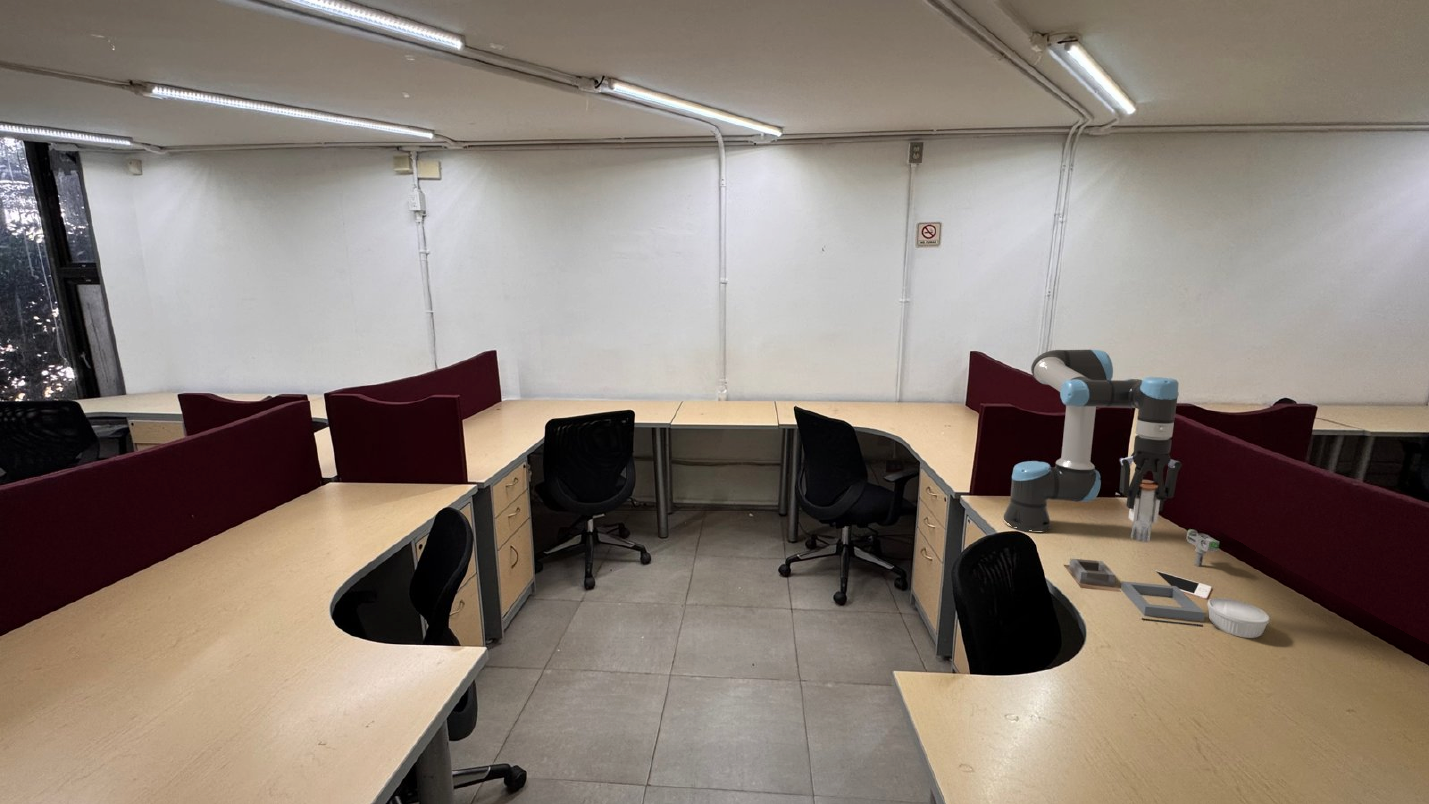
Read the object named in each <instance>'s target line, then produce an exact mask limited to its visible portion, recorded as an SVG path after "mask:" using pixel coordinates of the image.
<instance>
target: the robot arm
mask: <svg viewBox="0 0 1429 804" xmlns="http://www.w3.org/2000/svg"><path fill="white" fill-rule="evenodd" d="M1030 368H1031V369H1030V370H1031V375H1032V376H1033V379H1035V380H1036V381H1037V382H1039V383H1040V384H1042V385H1047V386H1050V387H1052V388H1053V389H1055V390H1056V391H1058V392H1059V393H1060V394H1059V395H1060V396H1059V397H1060V399H1061V402H1062V403H1063V405H1065V418H1064V426H1063V438H1062V447H1061V457H1060V458H1059V459H1057V460H1056V461H1055V465H1054V467H1051V465H1050V464H1049V463H1048V462H1045V461H1038V460H1031V461H1030V460H1027V461H1022V462H1019V463H1017V464H1015V465H1014V467H1013V469H1012V475H1011V487H1010V501H1009V503H1008V506H1007V507H1006V509H1005V512H1004V513H1003V518H1004V520H1005V521H1006V522H1007V523H1009V524H1010V525H1011V526H1012V527H1017V528H1013V529H1015V530H1017V531H1021V532H1026V533H1027V531H1029V530H1032V531H1046V530H1048V529H1049V528H1050V529H1051V519H1050V515H1049V512H1048V508H1047V506H1048V505H1047V504H1048V500H1053V501H1065V502H1066V501H1067V502H1069V501H1070V502H1077V503H1081V502H1087V503H1088V502H1091V501H1093V500H1094V499H1096V497H1097V496H1098V494H1099V492H1100V489H1101V485H1102V484H1101V482H1102V480H1101V474H1100V472H1099V471H1098V470H1097V469H1096V468H1095V467H1096V466H1095V465H1094V464H1093V463H1092V462H1091V457H1092V456H1091V455H1092V447H1093V446H1092V445H1093V438H1094V429H1095V418H1096V409H1097V408H1132V409H1137V419H1136V425H1135V426H1136V427H1135V434H1136V436H1134V441H1133V451H1132V453H1131V455H1130V456H1128V457H1127V456H1126V457H1125V458H1124V457H1119V459H1118V461H1119V463H1120V467H1121V468H1120V480H1119V492H1120V493H1122V494H1123V496H1127V497H1126V505H1125V506H1126V508H1128V509H1129V511H1128V519H1129V520H1130V521H1131V522H1132V523H1133V522H1137V514H1138V506H1139V498H1137V497H1136V496H1137V493H1138V490H1139V488H1140V483H1142V480H1144V478H1145V476H1146V474H1147V472H1151V474H1152V478H1153V480H1152V481H1154V482H1155V483H1157V484H1159V488H1158V489H1156V494H1155V502H1154V510H1153V517H1152V524H1158V518H1159V512H1163V508H1164V503H1165V502H1166V501H1167V499H1172V498H1174V495H1175V490H1176V485H1177V480H1178V476H1179V475H1178V474H1179V471H1180V469H1181V468H1182V466H1183V463H1182V462H1180V461H1179V460H1176V459H1172V458H1171V456H1170V453H1171V448H1172V439H1171V438H1172V437H1173V433H1174V426H1175V425H1174V423H1175V417H1176V410H1177V405H1178V397H1179V393H1180V392H1179V386H1180V385H1179V381H1178V380H1176V379H1175V378H1171V377H1170V378H1168V377H1156V376H1154V377H1153V376H1150V377H1149V376H1148V377H1144V378H1143V379H1139V378H1127V379H1124V380H1123V379H1121V380H1120V379H1119V380H1115V379H1114V380H1113V377H1114V376H1113V375H1114V367H1113V363H1112V359H1111V357H1110V355H1109V354H1108V353H1107V352H1106V351H1104V350H1100V349H1099V350H1098V349H1052V350H1049V351H1046V352H1043V353H1041V354H1040V355H1038V356H1037V357H1036V358H1035V359H1034V360H1033V362H1032V364H1031V367H1030ZM1132 463H1134V464H1135V467H1134V473H1133V476H1132V479H1131V466H1132ZM1166 466H1168V468H1167V472H1166V476H1165V482H1164V468H1165V467H1166ZM1130 480H1131V481H1130ZM1012 527H1011V528H1012ZM1048 531H1049V530H1048ZM1046 532H1047V531H1046Z"/></svg>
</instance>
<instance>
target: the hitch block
mask: <svg viewBox="0 0 1429 804" xmlns="http://www.w3.org/2000/svg"><path fill="white" fill-rule="evenodd" d="M1063 567H1064V568H1065V570H1066V571H1067V572H1068V573H1069V575H1070V576H1071V577H1072V578H1073V580H1074V581H1075V583H1077V585H1078V586H1079V588H1080V589H1089V590H1096V591H1097V590H1098V591H1106V592H1107V591H1108V592H1116V593H1122V590H1121V589H1119V588H1118V586H1117V585H1116V584H1115V581H1116V574H1115V573H1114V572H1113V570H1111V569H1110V567H1108V566H1107V565H1106V564H1105V562H1104V561H1103V560H1093V559H1092V560H1091V559H1081V558H1080V559H1079V558H1070V560H1069V564H1063Z"/></svg>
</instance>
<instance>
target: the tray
mask: <svg viewBox="0 0 1429 804" xmlns="http://www.w3.org/2000/svg"><path fill="white" fill-rule="evenodd" d="M1120 586H1121V587H1120V591H1121V592H1123V594H1125V596H1126V597H1127V598H1128V599H1129V600H1130V601H1131V602H1132V603H1133V604H1134V606H1135V607H1136V608H1137V609H1138V610H1139V611H1140V613H1141V614H1142V615H1143V616H1144V617H1145V616H1146V617H1154V618H1155V617H1156V618H1165V619H1166V618H1167V619H1173V620H1174V619H1176V620H1182V621H1192V622H1201V623H1203V622H1205V617H1206V612H1205V611H1204V609H1202V608H1200V606H1199V605H1197V604H1196V603H1195V602H1194V601H1193V600H1192V599H1191V598H1190V597H1188V596H1187V595H1186V593H1183V592H1182V591H1181V590H1180V589H1179V588H1178V587H1177V586H1171V585H1169V584H1168V585H1166V584H1155V583H1145V582H1136V581H1121V585H1120ZM1142 595H1148V596H1149V595H1150V596H1156V597H1157V596H1159V597H1168V598H1173V600H1174V601H1175V602H1176V603H1177V604H1178V605H1179V606H1171V605H1163V604H1161V605H1160V604H1153V603H1152V604H1150V603H1149V602H1148V601H1147V600H1146V599H1145V597H1143V596H1142ZM1144 617H1142V618H1141V619H1142V620H1143V621H1146V622H1152V623H1153V622H1155V623H1163V624H1164V623H1166V624H1172V625H1181V626H1182V625H1183V626H1189V627H1191V626H1192V627H1201V628H1203V627H1204V624H1198V623H1190V622H1180V621H1173V620H1172V621H1170V620H1163V619H1162V620H1161V619H1154V618H1153V619H1151V618H1146V617H1145V618H1144Z"/></svg>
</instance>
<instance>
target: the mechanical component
mask: <svg viewBox="0 0 1429 804" xmlns="http://www.w3.org/2000/svg"><path fill="white" fill-rule="evenodd" d="M1186 541H1187V542H1188V543H1189V544H1191V545H1193V546H1195V549H1194V551H1195V552H1196V554H1195V555H1196V557H1195V562H1194V566H1196V567H1199V566H1201V567H1203V566H1202V565H1203V560H1204V554H1207V552H1208V553H1217V552H1218V550H1219V547H1220V541H1219V540H1216V539H1215V538H1213V537H1211V536H1210V535H1208V534H1205V533H1198V531H1197V530H1196V529H1191V528H1189V529H1188V530H1187V533H1186Z"/></svg>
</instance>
